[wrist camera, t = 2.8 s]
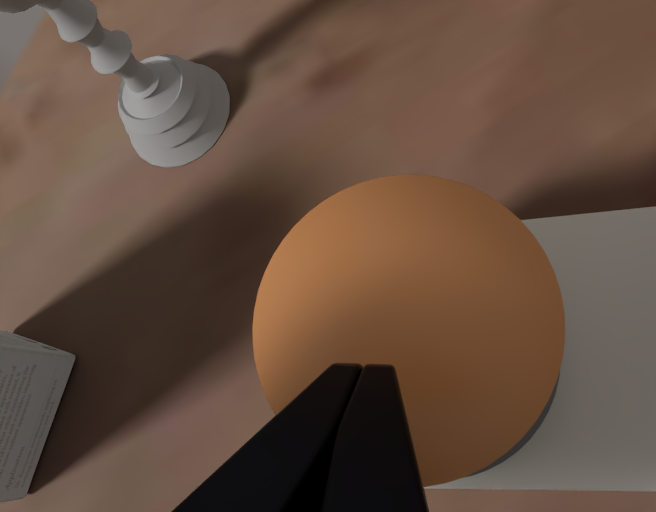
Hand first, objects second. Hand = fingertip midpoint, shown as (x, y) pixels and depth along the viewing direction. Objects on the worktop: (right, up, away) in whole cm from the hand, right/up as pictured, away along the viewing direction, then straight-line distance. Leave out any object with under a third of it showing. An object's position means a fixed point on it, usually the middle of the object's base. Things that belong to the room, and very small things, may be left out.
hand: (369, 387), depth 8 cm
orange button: (+1, 0, +5) cm, 5 cm away
